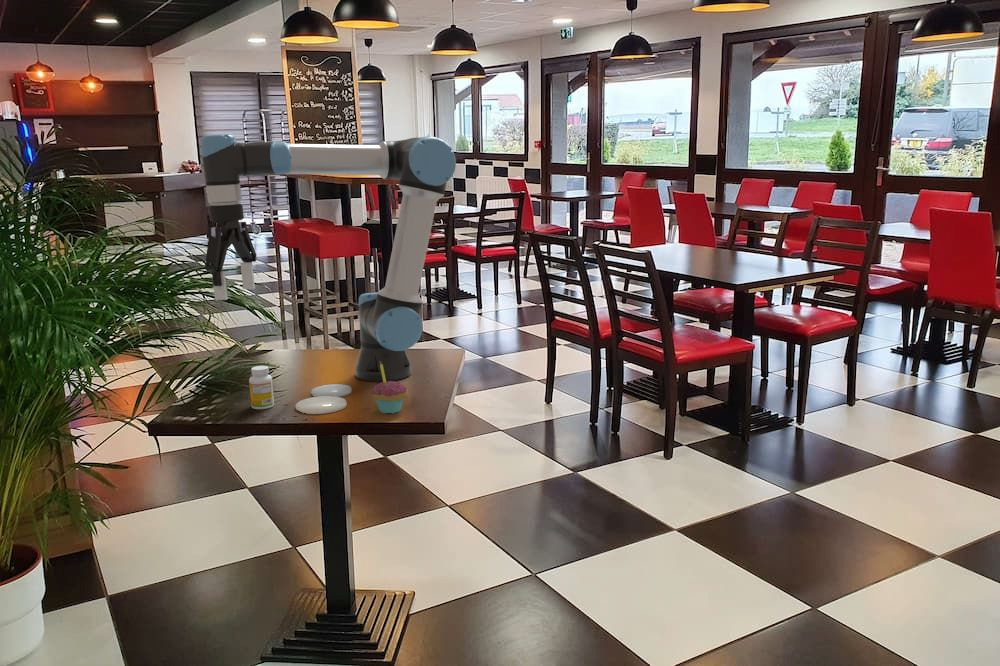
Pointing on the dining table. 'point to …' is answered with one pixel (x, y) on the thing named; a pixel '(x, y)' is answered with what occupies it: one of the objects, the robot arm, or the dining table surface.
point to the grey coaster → (331, 390)
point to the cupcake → (389, 394)
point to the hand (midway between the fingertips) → (235, 294)
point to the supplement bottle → (261, 388)
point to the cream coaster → (321, 405)
